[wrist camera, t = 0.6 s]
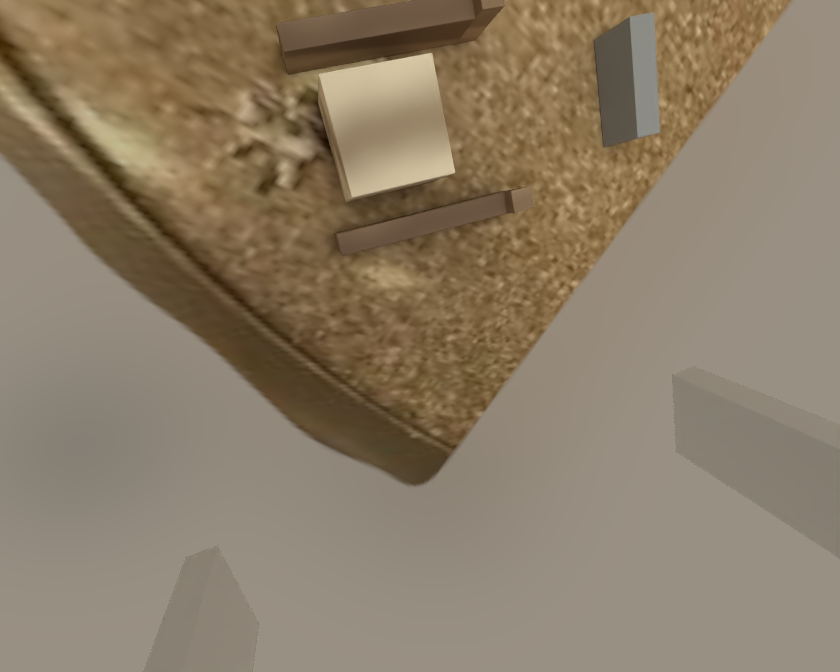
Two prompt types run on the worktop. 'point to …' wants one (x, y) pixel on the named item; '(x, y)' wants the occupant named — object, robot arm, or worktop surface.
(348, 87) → the block
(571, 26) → the worktop surface
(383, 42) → the chute
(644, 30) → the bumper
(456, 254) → the worktop surface
